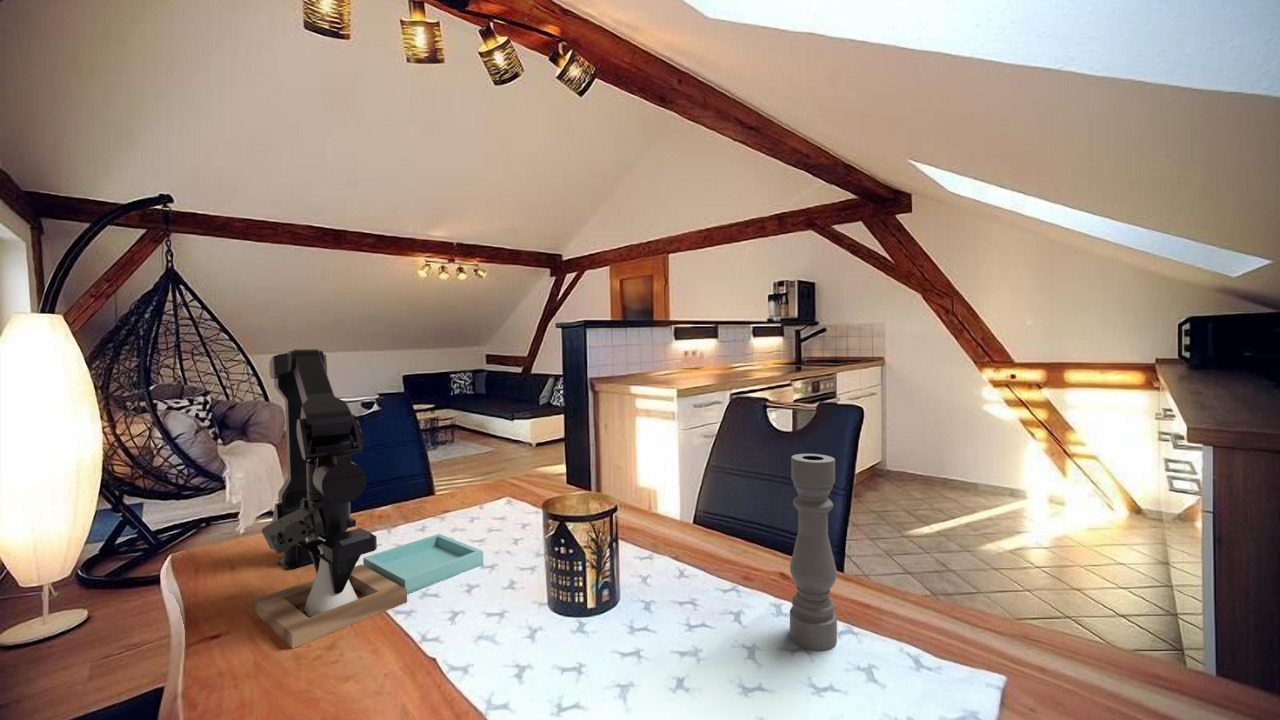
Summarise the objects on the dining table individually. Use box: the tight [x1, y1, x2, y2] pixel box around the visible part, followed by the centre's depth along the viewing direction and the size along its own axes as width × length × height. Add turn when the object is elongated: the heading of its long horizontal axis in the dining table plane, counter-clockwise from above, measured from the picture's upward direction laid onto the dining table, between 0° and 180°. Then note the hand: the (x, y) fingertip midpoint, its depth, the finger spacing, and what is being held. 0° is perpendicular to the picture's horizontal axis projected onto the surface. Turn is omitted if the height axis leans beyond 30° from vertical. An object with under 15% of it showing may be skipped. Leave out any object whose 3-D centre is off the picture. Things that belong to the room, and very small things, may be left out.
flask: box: [303, 544, 359, 617], centre depth 81 cm, size 7×7×10 cm
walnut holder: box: [253, 564, 408, 649], centre depth 81 cm, size 16×16×2 cm
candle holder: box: [789, 453, 838, 652], centre depth 71 cm, size 6×6×25 cm
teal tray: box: [362, 533, 484, 595], centre depth 95 cm, size 15×15×2 cm
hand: (331, 588), depth 81 cm, fingers closed on flask, 5 cm apart
